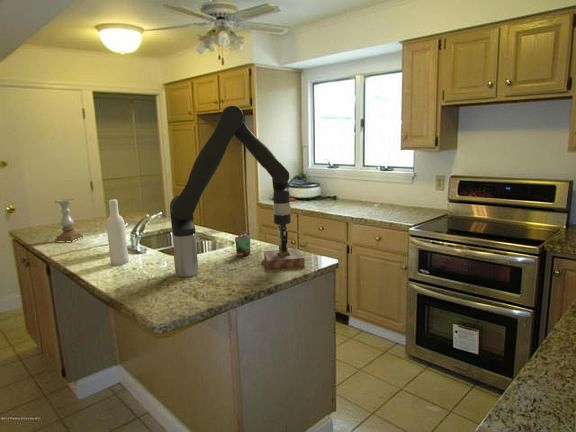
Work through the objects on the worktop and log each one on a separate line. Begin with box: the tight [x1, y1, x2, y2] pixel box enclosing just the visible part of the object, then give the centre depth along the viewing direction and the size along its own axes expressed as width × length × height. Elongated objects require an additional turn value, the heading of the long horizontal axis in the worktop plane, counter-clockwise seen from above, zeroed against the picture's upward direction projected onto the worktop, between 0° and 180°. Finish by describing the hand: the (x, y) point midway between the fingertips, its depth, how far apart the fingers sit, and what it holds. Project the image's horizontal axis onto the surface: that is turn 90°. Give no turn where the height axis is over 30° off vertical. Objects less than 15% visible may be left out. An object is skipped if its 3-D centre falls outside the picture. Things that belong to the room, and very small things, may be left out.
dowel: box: [277, 230, 289, 256], centre depth 185 cm, size 4×4×12 cm
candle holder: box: [53, 198, 84, 242], centre depth 242 cm, size 11×11×24 cm
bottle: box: [105, 198, 129, 266], centre depth 191 cm, size 8×8×30 cm
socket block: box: [263, 248, 305, 271], centre depth 186 cm, size 16×16×4 cm
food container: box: [234, 231, 253, 258], centre depth 202 cm, size 12×6×10 cm, turn 168°
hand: (283, 250), depth 185 cm, fingers closed on dowel, 4 cm apart
